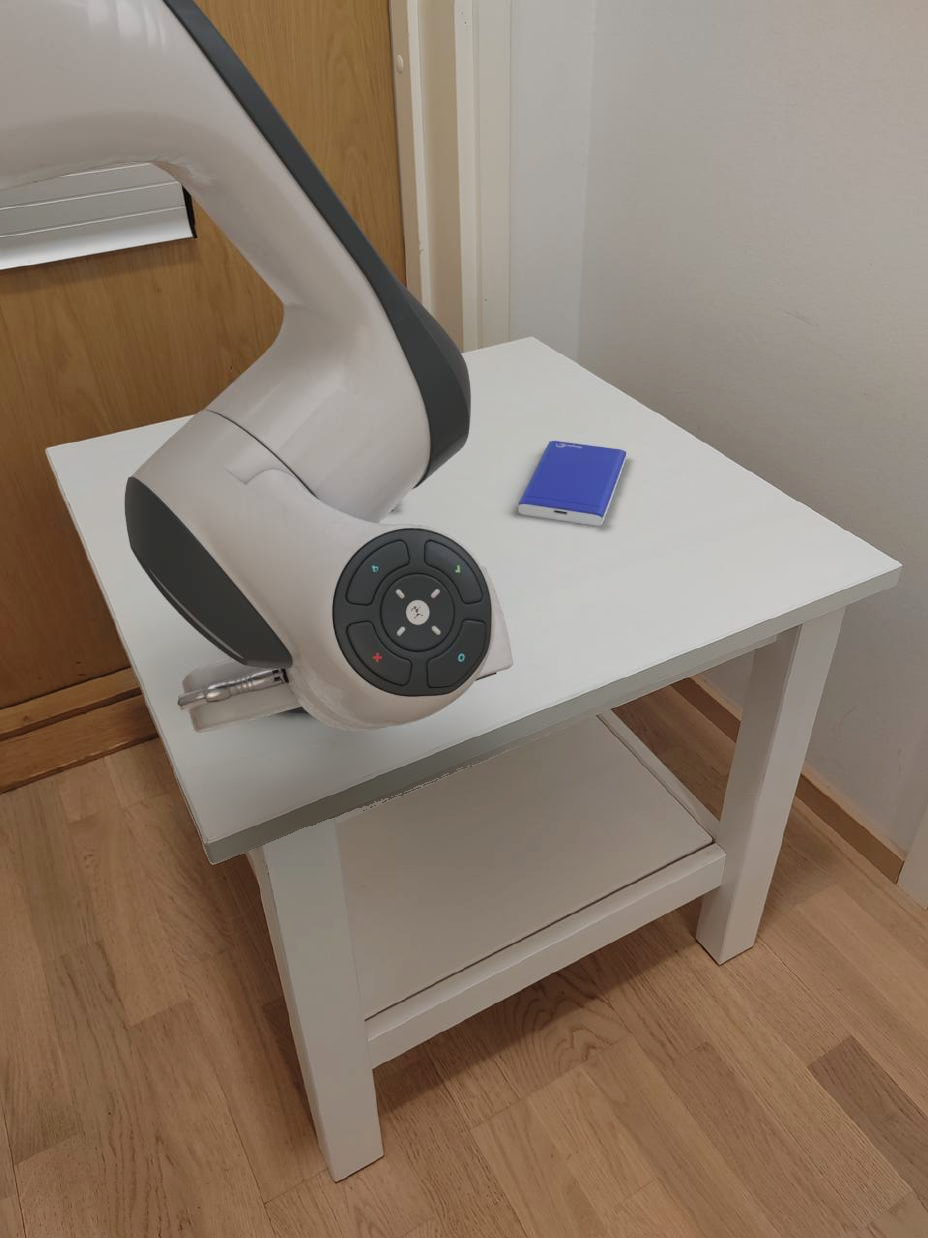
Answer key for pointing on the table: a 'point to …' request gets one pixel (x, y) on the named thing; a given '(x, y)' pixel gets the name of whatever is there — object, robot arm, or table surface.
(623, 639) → the table surface
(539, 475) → the hard drive
